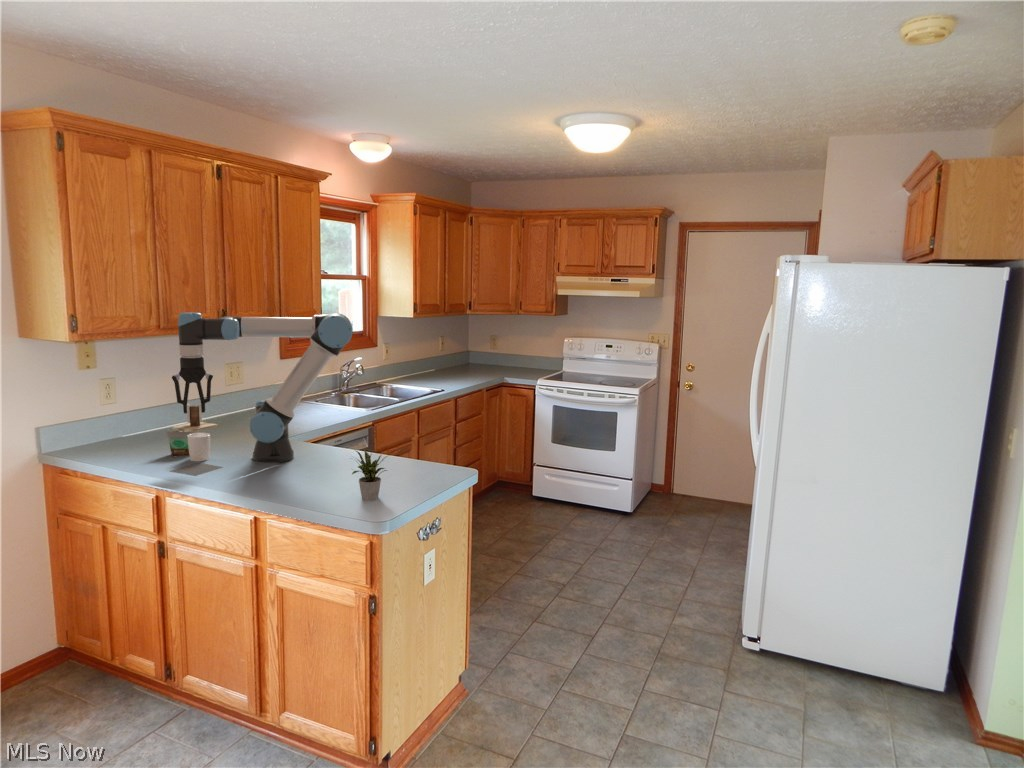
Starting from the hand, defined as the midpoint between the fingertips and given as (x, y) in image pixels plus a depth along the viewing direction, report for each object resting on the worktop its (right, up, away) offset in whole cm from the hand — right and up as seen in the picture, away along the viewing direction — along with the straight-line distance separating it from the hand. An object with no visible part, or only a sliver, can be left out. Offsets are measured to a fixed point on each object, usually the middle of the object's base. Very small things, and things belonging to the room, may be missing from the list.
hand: (195, 421), depth 235 cm
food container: (-15, -15, +22) cm, 31 cm away
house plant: (+66, -24, -22) cm, 73 cm away
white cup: (-6, -16, +16) cm, 23 cm away
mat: (-1, -18, +3) cm, 18 cm away
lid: (0, -2, 0) cm, 2 cm away
